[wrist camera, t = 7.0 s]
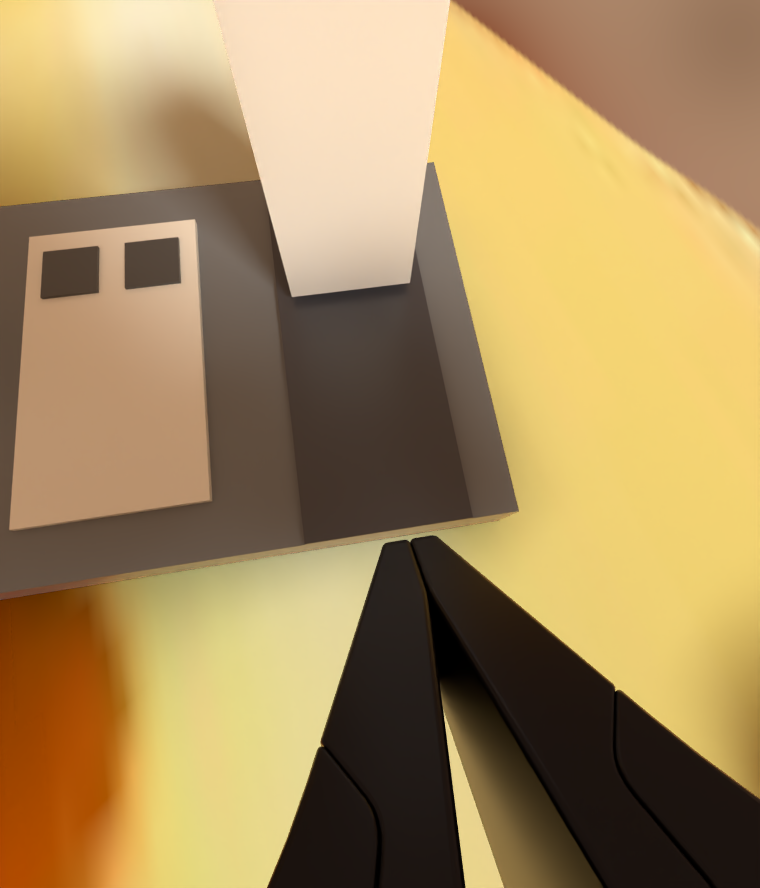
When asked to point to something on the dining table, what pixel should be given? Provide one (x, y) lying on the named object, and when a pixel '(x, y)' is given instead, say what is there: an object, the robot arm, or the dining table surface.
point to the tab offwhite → (339, 128)
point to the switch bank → (224, 393)
